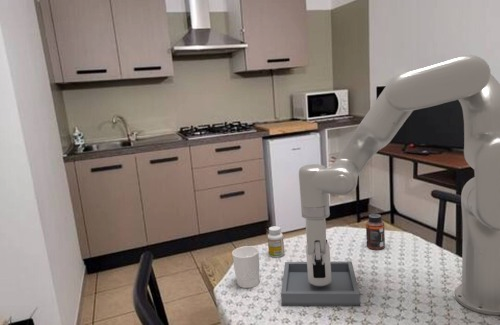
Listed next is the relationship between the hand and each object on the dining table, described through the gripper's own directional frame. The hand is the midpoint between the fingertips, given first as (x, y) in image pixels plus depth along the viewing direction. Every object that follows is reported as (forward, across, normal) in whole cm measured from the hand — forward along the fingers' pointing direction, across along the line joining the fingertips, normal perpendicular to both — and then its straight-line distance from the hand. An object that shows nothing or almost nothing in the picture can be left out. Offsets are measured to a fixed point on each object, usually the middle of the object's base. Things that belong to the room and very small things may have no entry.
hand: (319, 271), depth 102 cm
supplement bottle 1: (+5, -22, -14) cm, 27 cm away
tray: (+5, 0, 0) cm, 5 cm away
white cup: (+5, -3, -21) cm, 22 cm away
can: (+3, 0, 0) cm, 3 cm away
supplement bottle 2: (+6, -27, +20) cm, 34 cm away
